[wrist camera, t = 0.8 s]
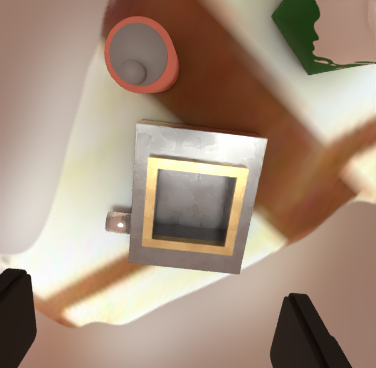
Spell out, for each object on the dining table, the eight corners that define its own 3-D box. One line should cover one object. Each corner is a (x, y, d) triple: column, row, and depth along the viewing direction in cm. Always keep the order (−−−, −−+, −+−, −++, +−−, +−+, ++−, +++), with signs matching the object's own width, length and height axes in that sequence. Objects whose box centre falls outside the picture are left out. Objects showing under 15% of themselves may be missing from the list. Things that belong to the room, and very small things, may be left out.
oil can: (133, 38, 28) (90, -3, 16) (182, 44, 29) (176, 9, 16) (131, 89, 30) (89, 88, 18) (177, 95, 30) (168, 97, 18)
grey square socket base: (116, 116, 31) (102, 120, 26) (258, 133, 31) (270, 140, 27) (112, 242, 36) (100, 265, 31) (234, 255, 36) (240, 279, 32)
